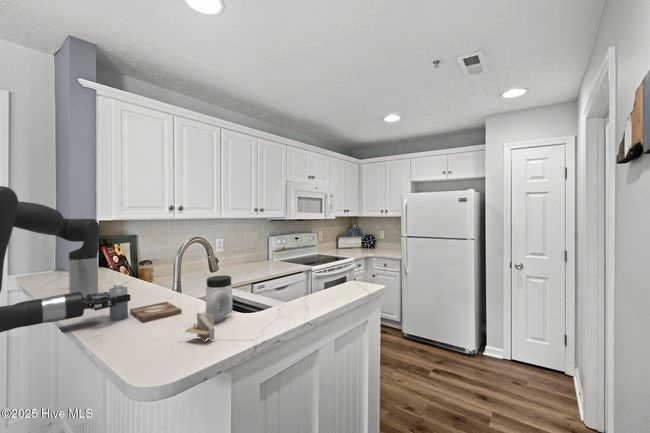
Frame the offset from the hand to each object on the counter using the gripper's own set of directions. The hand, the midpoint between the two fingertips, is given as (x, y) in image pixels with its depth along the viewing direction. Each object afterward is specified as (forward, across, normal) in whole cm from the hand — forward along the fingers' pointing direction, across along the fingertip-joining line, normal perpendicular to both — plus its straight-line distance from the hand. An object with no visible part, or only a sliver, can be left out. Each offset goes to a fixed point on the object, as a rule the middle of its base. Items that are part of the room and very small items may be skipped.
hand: (127, 295), depth 104 cm
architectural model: (+8, -39, +8) cm, 41 cm away
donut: (+18, -28, +7) cm, 34 cm away
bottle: (-3, 0, +7) cm, 7 cm away
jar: (+23, -19, +7) cm, 31 cm away
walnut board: (+7, -4, +7) cm, 11 cm away
